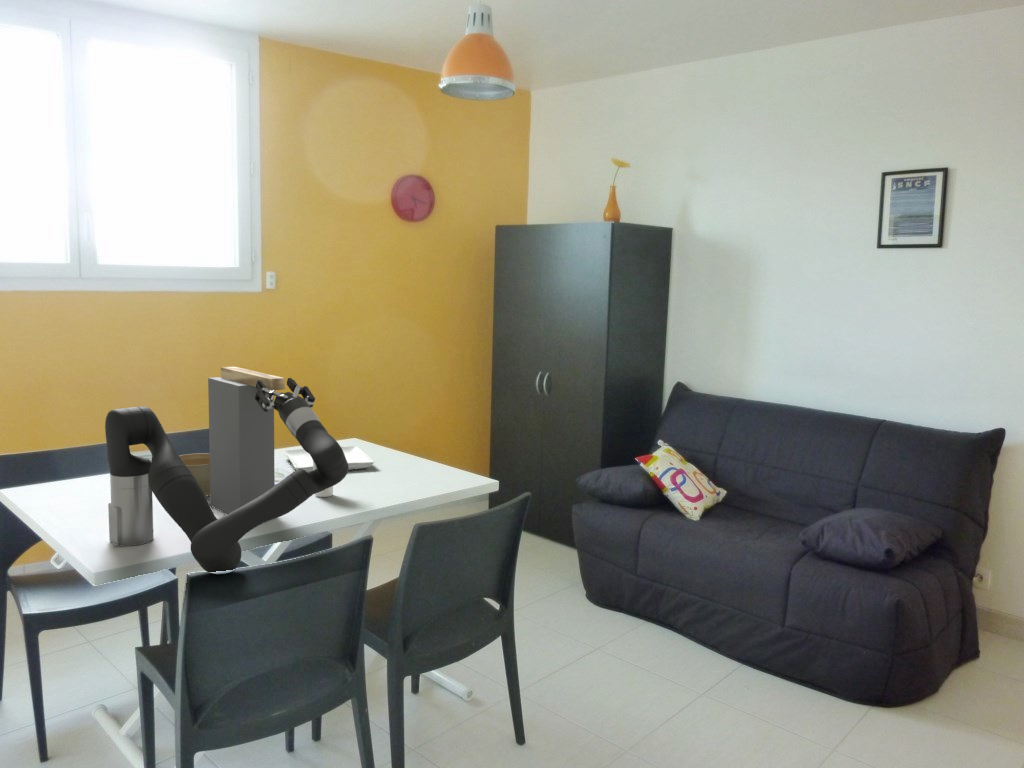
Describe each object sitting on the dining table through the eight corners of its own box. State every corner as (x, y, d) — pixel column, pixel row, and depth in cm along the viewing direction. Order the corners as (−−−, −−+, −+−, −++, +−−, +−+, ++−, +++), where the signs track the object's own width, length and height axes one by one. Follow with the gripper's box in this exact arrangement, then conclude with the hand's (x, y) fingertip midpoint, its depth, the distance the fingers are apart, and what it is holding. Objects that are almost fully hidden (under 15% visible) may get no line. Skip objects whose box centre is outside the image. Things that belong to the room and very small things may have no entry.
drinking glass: (308, 494, 242) (308, 446, 240) (327, 491, 247) (327, 444, 245) (320, 499, 237) (320, 450, 235) (339, 496, 242) (339, 447, 240)
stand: (240, 521, 214) (238, 385, 209) (210, 505, 228) (208, 377, 223) (274, 515, 221) (273, 383, 216) (243, 499, 235) (242, 375, 230)
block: (270, 390, 202) (270, 379, 202) (220, 377, 224) (220, 367, 224) (284, 389, 205) (284, 378, 205) (234, 376, 227) (234, 366, 226)
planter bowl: (193, 484, 249) (193, 451, 248) (237, 490, 244) (236, 456, 243) (156, 497, 234) (155, 461, 233) (201, 503, 229) (201, 467, 228)
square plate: (282, 459, 288) (282, 449, 288) (356, 454, 300) (356, 444, 299) (295, 477, 264) (295, 465, 264) (375, 471, 276) (375, 460, 275)
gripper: (270, 434, 194) (244, 395, 203) (322, 428, 203) (295, 391, 213) (277, 410, 190) (250, 371, 199) (329, 405, 200) (301, 368, 209)
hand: (273, 381), depth 206 cm, fingers open, 8 cm apart
